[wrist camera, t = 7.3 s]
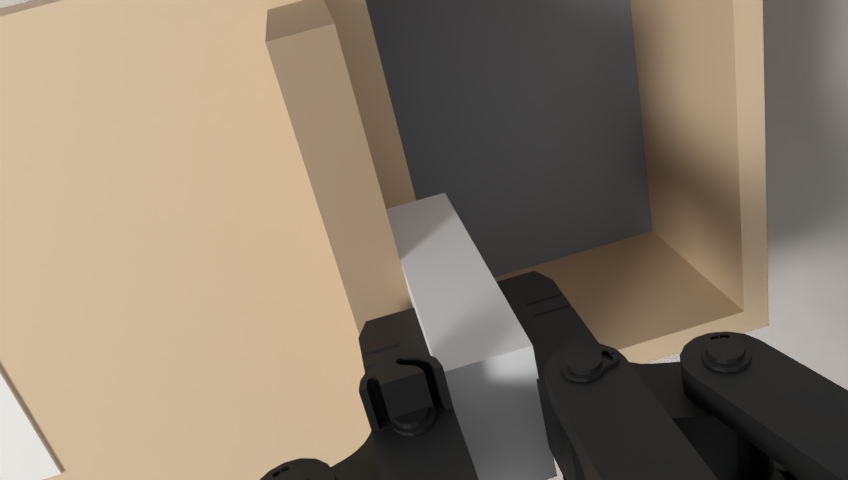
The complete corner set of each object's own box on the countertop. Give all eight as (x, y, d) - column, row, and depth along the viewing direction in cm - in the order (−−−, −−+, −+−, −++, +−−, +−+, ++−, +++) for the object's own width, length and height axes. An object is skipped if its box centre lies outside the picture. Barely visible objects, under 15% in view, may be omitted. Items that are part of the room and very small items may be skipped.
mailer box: (663, 234, 29) (768, 325, 23) (13, 426, 28) (-62, 580, 22) (629, -154, 23) (759, -173, 17) (-212, 63, 22) (-410, 131, 15)
